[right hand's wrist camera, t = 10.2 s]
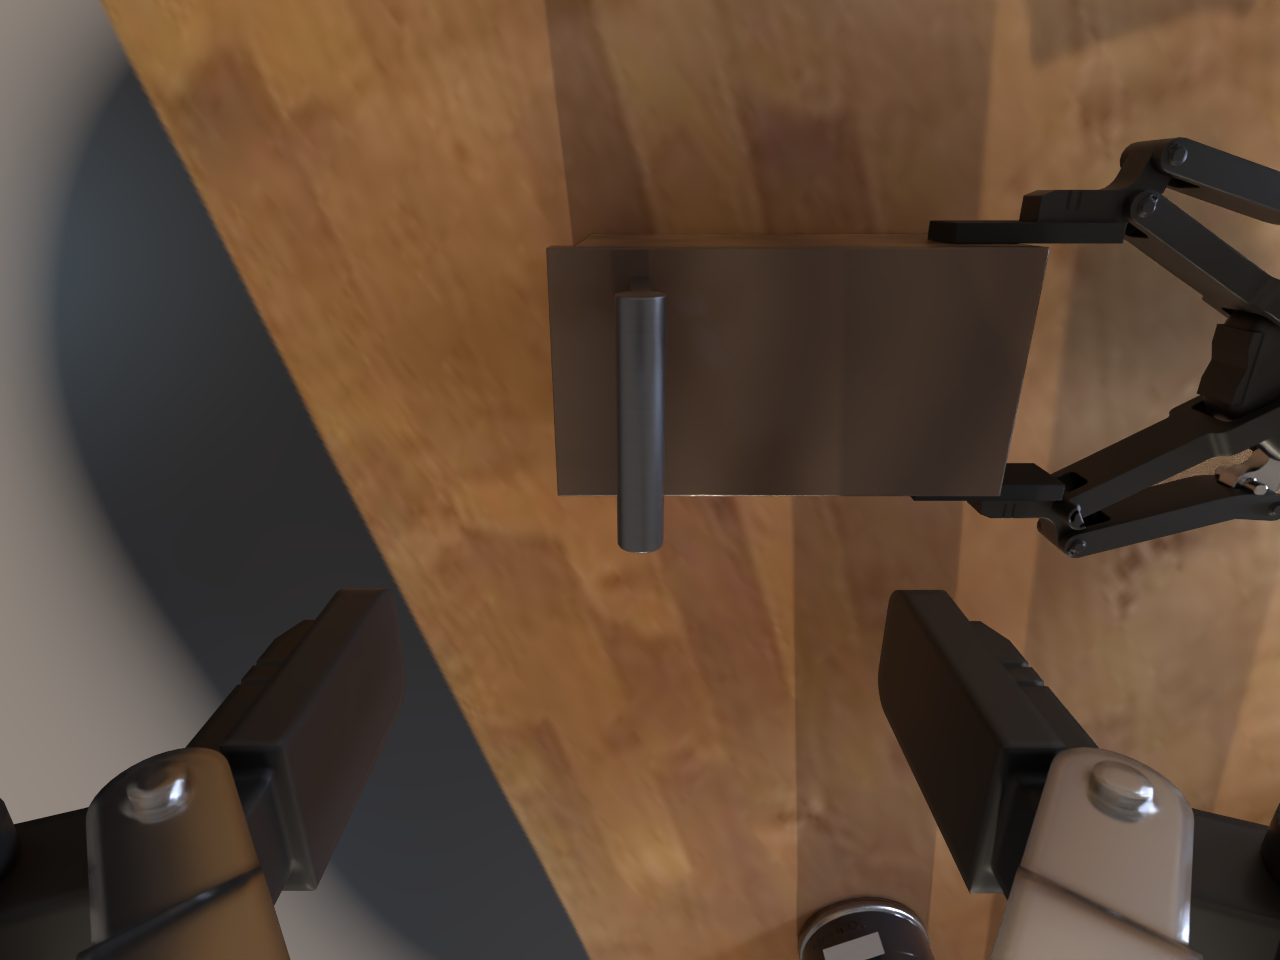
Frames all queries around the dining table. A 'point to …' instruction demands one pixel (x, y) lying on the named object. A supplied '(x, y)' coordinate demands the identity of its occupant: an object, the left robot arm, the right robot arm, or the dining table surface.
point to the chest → (771, 240)
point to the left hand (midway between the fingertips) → (921, 364)
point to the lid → (785, 371)
